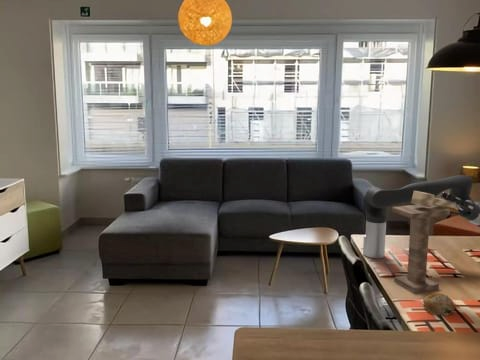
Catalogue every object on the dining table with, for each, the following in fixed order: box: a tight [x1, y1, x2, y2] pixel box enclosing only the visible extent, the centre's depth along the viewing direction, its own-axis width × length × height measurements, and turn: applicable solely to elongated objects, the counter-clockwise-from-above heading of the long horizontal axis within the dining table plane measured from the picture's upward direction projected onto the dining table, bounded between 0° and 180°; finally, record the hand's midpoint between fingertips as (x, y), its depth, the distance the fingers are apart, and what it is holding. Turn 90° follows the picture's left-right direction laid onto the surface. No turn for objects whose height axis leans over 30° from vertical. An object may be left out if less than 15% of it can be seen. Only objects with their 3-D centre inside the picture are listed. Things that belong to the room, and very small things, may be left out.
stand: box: [391, 204, 451, 294], centre depth 189 cm, size 18×12×32 cm, turn 109°
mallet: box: [410, 191, 460, 210], centre depth 189 cm, size 24×5×5 cm, turn 109°
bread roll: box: [422, 292, 455, 317], centre depth 169 cm, size 10×10×8 cm
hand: (445, 194), depth 189 cm, fingers closed on mallet, 2 cm apart
